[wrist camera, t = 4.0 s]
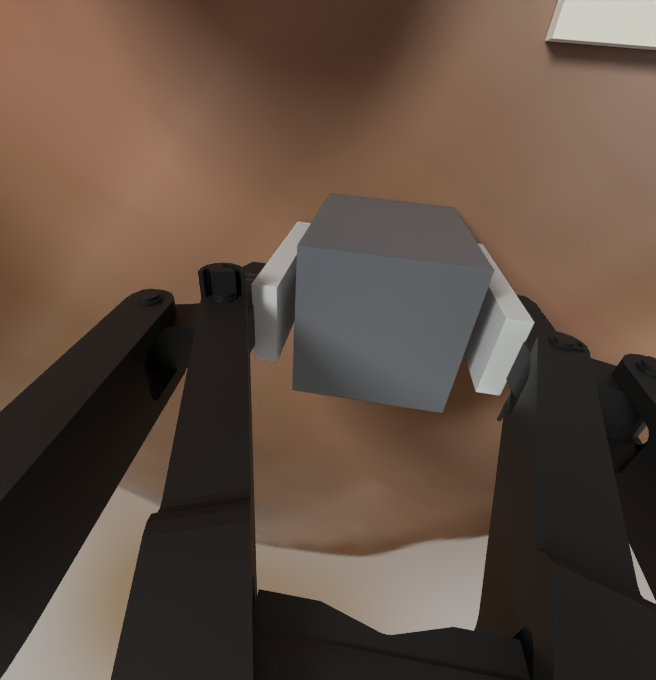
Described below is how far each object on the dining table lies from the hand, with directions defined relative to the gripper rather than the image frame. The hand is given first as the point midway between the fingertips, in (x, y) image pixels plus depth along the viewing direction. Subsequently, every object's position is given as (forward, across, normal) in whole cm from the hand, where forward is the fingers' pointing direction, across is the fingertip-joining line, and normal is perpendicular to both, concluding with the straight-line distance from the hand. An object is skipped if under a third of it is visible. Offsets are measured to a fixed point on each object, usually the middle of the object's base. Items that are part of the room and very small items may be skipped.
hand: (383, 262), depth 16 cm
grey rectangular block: (0, 0, 0) cm, 0 cm away
